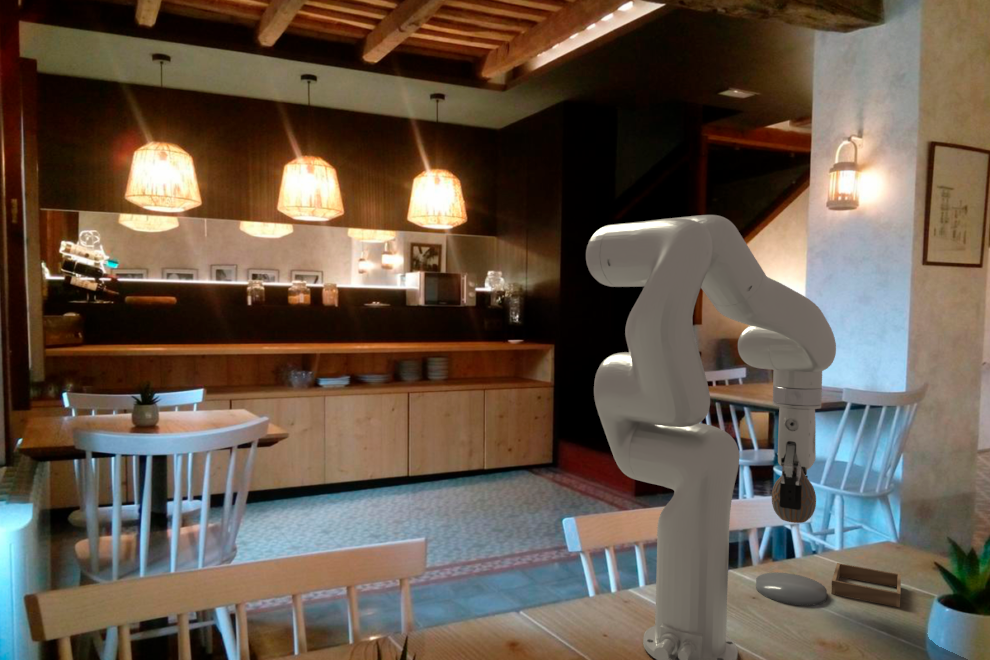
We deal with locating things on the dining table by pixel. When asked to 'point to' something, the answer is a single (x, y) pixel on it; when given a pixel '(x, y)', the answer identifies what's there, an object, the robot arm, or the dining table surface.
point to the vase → (806, 502)
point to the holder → (864, 591)
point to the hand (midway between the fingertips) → (793, 502)
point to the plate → (791, 589)
